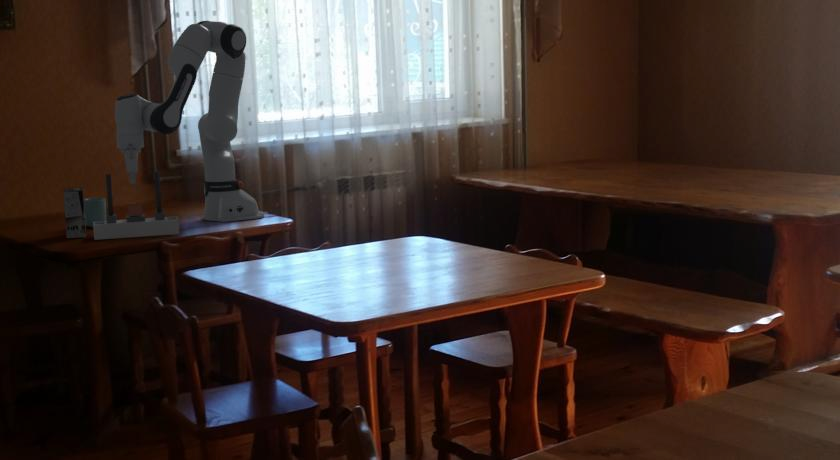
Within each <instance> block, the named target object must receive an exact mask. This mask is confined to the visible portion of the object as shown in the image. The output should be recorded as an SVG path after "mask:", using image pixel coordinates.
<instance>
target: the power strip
mask: <svg viewBox="0 0 840 460" xmlns="http://www.w3.org/2000/svg"><path fill="white" fill-rule="evenodd" d="M92 228H93V230H92V231H93V238H94V239H93V240H95V241H96V240H108V239H109V240H111V239H113V240H114V239H123V238H125V239H126V238H140V237H153V236H167V235H180V224H179V217H178V215H177V216H165V220H156V219H155V217H147V218H146V215H145V213H144V214H143V213H142V215H137V216H129V214H128V215H126V219H119V220H118V219H116V223H108V224H107V220H106V221H98V222H94V223H93V227H92Z"/></svg>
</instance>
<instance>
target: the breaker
mask: <svg viewBox="0 0 840 460" xmlns="http://www.w3.org/2000/svg"><path fill="white" fill-rule="evenodd" d="M142 206H143V204H139V205H128V215H129V216H137V215H142V214H143V207H142Z"/></svg>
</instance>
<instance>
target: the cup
mask: <svg viewBox="0 0 840 460" xmlns="http://www.w3.org/2000/svg"><path fill="white" fill-rule="evenodd" d="M106 201H107V200H106V198H105V197H88V198H84V209H85V223H86V226H87V227H89V228H93V223H94V222H98V221H107V203H106Z"/></svg>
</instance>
